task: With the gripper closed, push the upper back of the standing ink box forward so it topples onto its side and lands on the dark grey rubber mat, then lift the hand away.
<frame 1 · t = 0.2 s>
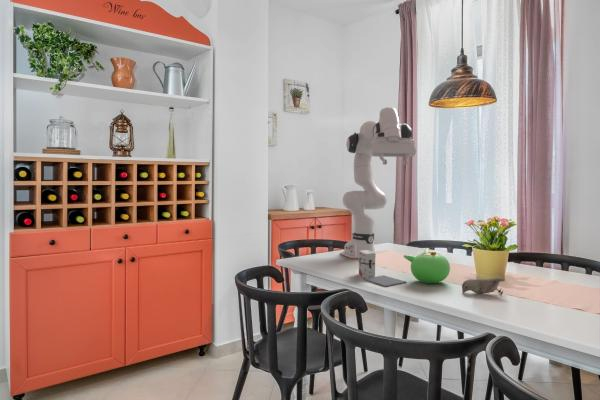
hand: (395, 164, 191), 54 cm above the table, tool tilted 30°, fingers open, 8 cm apart
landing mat: (384, 281, 194), on the table
ink box: (366, 276, 204), on the table
decorative bird: (482, 294, 176), on the table
green teapot: (428, 282, 193), on the table
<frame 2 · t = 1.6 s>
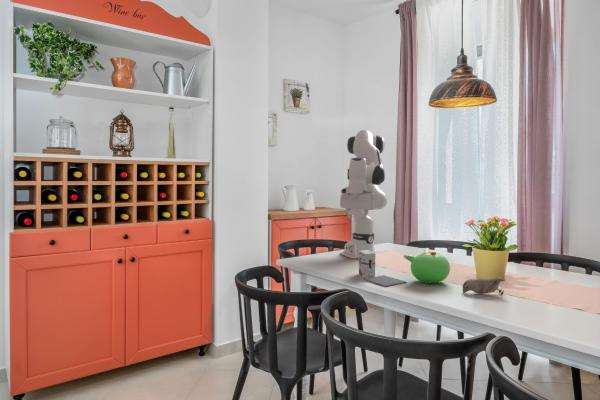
hand: (356, 218, 208), 27 cm above the table, tool pointing down, fingers open, 8 cm apart
nothing on the table moved.
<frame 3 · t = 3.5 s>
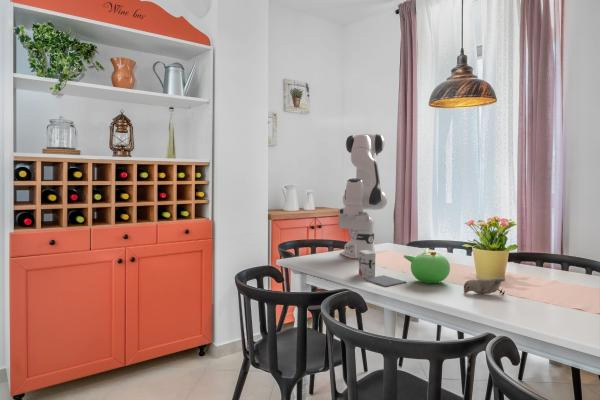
hand: (353, 238, 211), 17 cm above the table, tool pointing down, fingers closed
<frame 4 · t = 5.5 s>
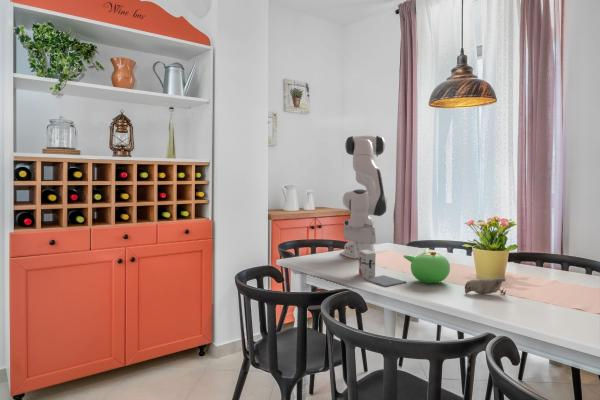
hand: (358, 250, 208), 11 cm above the table, tool pointing down, fingers closed
ink box: (366, 275, 204), on the table, touching gripper
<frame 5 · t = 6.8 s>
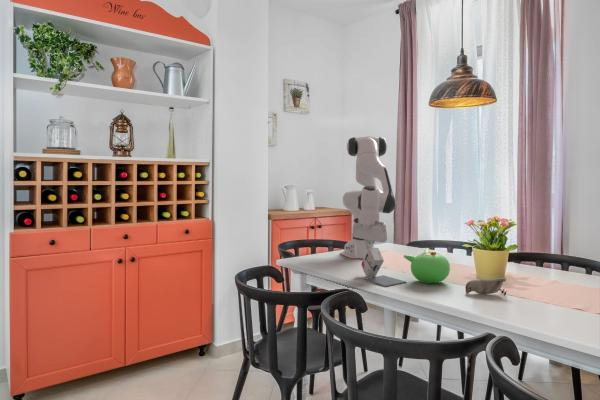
hand: (369, 249, 202), 13 cm above the table, tool pointing down, fingers closed
ink box: (367, 270, 204), point 2 cm above the table, touching gripper
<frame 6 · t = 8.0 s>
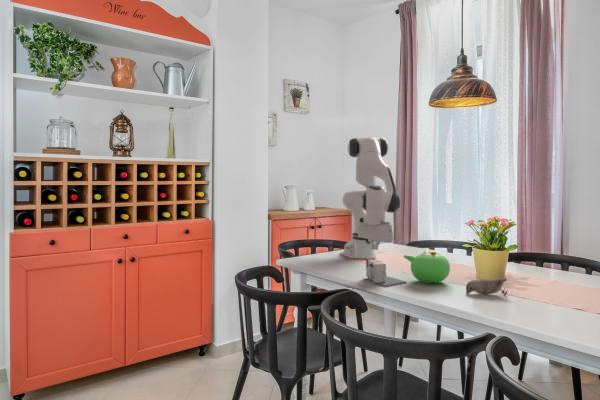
hand: (374, 249, 199), 14 cm above the table, tool pointing down, fingers closed
ink box: (370, 267, 200), point 5 cm above the table, touching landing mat
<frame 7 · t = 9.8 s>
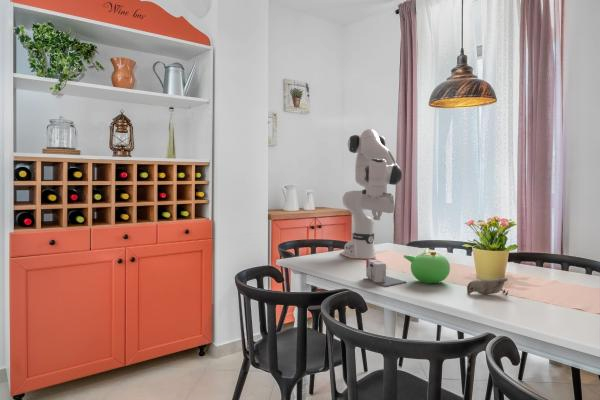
hand: (376, 220, 207), 27 cm above the table, tool pointing down, fingers closed
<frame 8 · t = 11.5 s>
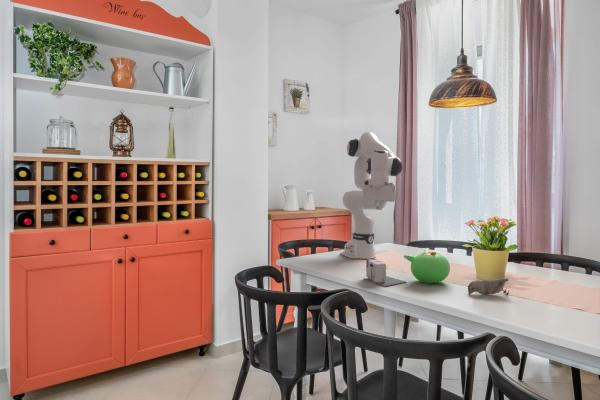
hand: (378, 209, 213), 31 cm above the table, tool pointing down, fingers closed
at the end: ink box tilted 89°; ink box touching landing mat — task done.
